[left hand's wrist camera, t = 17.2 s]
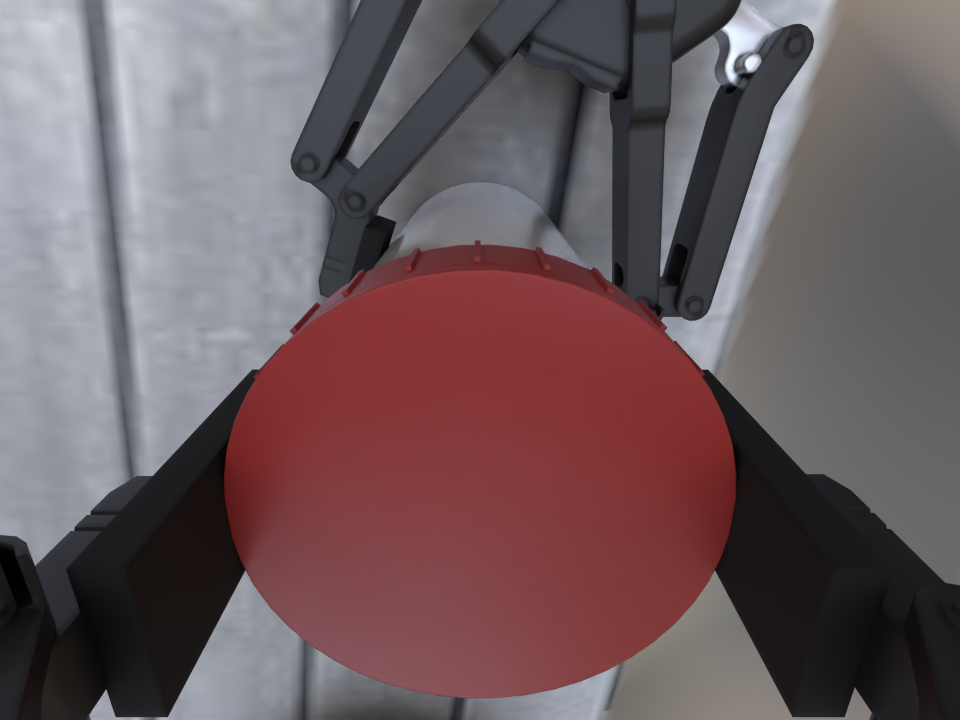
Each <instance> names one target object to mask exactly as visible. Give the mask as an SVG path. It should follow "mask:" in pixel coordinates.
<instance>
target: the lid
mask: <svg viewBox="0 0 960 720" xmlns="http://www.w3.org/2000/svg"><path fill="white" fill-rule="evenodd" d="M666 329H667V327H666V326H665V325H664V324H663V323H662V322H661V320H660V319H659V318H658V317H657V316H656V315H655V314H654V313H653V312H652V311H651V310H650V309H649V308H648V306H647V305H646V304H645V303H644V302H643V301H642V300H640V301H639V302H636V301H635V300H634V299H632V298H631V297H630V296H628V295H627V294H626V293H625V292H623V291H622V290H621V289H619V288H618V287H617V286H616V285H614V284H613V283H611V282H609V281H608V280H606V279H605V278H604V277H603V275H602V274H601V273H600V272H599V270H598V269H596V268H594V267H593V268H592V270H591V271H590V270H589V269H587V268H584V267H582V266H579V265H577V264H575V263H572V262H570V261H567V260H565V259H562V258H560V257H557V256H553V255H549V254H546V253H544V251H543V249H542V248H540V247H536V250H535V251H534V250H530V249H526V248H518V247H509V246H501V245H481V240H475V245H457V246H450V247H443V248H436V249H430V250H425V251H422V252H421V251H420V248H416V249H414V250H413V252H412V254H411V255H408V256H404V257H401V258H397V259H395V260H393V261H390V262H388V263H386V264H383V265H381V266H379V267H377V268H374V269H372V270H370V271H368V272H365V271H364V269H362V270H361V271H359V272H358V273H357V274H356V275H355V277H354V278H353V279H352V280H351V281H350V283H348V284H346V285H345V286H343V287H342V288H340V289H339V290H338V291H337V292H335V293H334V294H333V295H332V296H331V297H329V298H328V299H327V300H326V301H325V302H323V303H322V304H321V305H319V304H318V303H315V304H314V305H313V306H312V308H311V309H310V310H309V311H308V312H307V313H306V314H305V315H304V316H303V317H302V318H301V319H300V320H299V321H298V323H297V324H296V325H295V326H294V327H293V328H292V329H291V330H290V332H291V333H292V334H293V335H292V337H291V338H290V339H289V340H288V341H287V342H286V343H285V344H282V346H281V347H280V348H279V349H278V350H277V351H276V352H275V353H274V354H273V355H272V357H271V358H270V359H269V360H268V361H267V362H266V363H265V364H264V365H263V366H262V368H261V369H260V370H259V371H258V372H257V373H256V374H255V376H254V379H255V382H254V383H253V385H252V386H251V388H250V390H249V391H248V393H247V394H246V397H245V399H244V401H243V403H242V405H241V408H240V410H239V412H238V414H237V417H236V419H235V421H234V424H233V428H232V432H231V436H230V439H229V443H228V447H227V451H226V460H225V470H224V496H225V503H226V509H227V514H228V519H229V524H230V529H231V534H232V538H233V542H234V545H235V547H236V550H237V553H238V555H239V558H240V560H241V563H242V564H243V566H244V568H245V570H246V572H247V573H248V575H249V577H250V579H251V581H252V583H253V584H254V586H255V587H256V589H257V590H258V591H259V593H260V594H261V595H262V597H263V598H264V600H265V601H266V602H267V604H268V605H269V606H270V608H271V609H272V610H273V611H274V612H275V613H276V614H277V615H278V616H279V617H280V618H281V619H282V620H283V621H284V622H285V623H286V624H287V625H288V626H289V627H290V628H291V629H292V630H293V631H294V632H296V633H297V634H298V635H299V636H300V637H302V638H303V639H304V640H305V641H306V642H308V643H309V644H310V645H311V646H313V647H315V648H316V649H318V650H319V651H321V652H322V653H324V654H325V655H327V656H328V657H330V658H331V659H333V660H335V661H336V662H338V663H340V664H342V665H344V666H346V667H348V668H350V669H352V670H354V671H356V672H358V673H360V674H363V675H365V676H368V677H371V678H373V679H376V680H378V681H381V682H383V683H386V684H390V685H393V686H397V687H401V688H404V689H408V690H411V691H416V692H422V693H427V694H433V695H438V696H448V697H460V698H502V697H512V696H522V695H529V694H534V693H539V692H544V691H549V690H554V689H557V688H560V687H564V686H567V685H570V684H574V683H577V682H580V681H583V680H585V679H588V678H590V677H592V676H595V675H597V674H600V673H602V672H605V671H607V670H609V669H611V668H612V667H614V666H616V665H618V664H620V663H622V662H624V661H626V660H627V659H629V658H631V657H633V656H634V655H635V654H637V653H638V652H640V651H641V650H643V649H644V648H646V647H647V646H649V645H650V644H651V643H653V642H654V641H656V640H657V639H658V638H659V637H660V636H661V635H662V634H664V633H665V632H666V631H667V630H668V629H669V628H671V627H672V626H673V625H674V624H675V623H676V622H677V621H678V620H679V619H680V618H681V616H682V615H683V614H684V613H685V612H686V611H687V610H688V609H689V608H690V607H691V605H692V604H693V603H694V602H695V600H696V599H697V598H698V596H699V595H700V593H701V592H702V590H703V589H704V588H705V586H706V585H707V583H708V582H709V580H710V578H711V576H712V574H713V572H714V571H715V569H716V567H717V565H718V563H719V561H720V559H721V557H722V554H723V551H724V548H725V546H726V543H727V540H728V536H729V531H730V526H731V521H732V516H733V511H734V506H735V500H736V466H735V459H734V451H733V444H732V441H731V438H730V434H729V431H728V428H727V425H726V421H725V418H724V415H723V413H722V411H721V409H720V407H719V405H718V403H717V401H716V399H715V397H714V395H713V393H712V391H711V389H710V387H709V386H708V384H707V383H706V381H705V380H704V378H703V377H702V376H703V375H705V374H704V372H703V371H702V369H701V368H700V367H699V366H698V365H697V364H696V363H695V362H694V361H693V360H692V358H691V357H690V356H689V355H688V354H687V353H686V352H685V351H684V350H683V349H682V347H681V346H680V345H679V344H678V343H677V342H676V341H673V340H672V339H671V338H670V337H669V336H668V335H667V334H666V332H665V330H666Z"/></svg>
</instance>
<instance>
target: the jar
mask: <svg viewBox="0 0 960 720" xmlns="http://www.w3.org/2000/svg"><path fill="white" fill-rule="evenodd" d="M475 240H481V245H501V246H509V247H518V248H526V249H530V250H534V251H535V250H536V247H540V248H542V249H543V251H544V253H546V254H549V255H553V256H557V257H560V258H562V259H565V260H567V261H570V262H572V263H575V264H577V265H579V266H582V267H584V268H587V267H586V266H585V265H584V263H583V262H582V261H581V259H580V258H579V257H578V255H577V254H576V253H575V251H574V250H573V249H572V247H571V246H570V245H569V243H568V242H567V241H566V239H565V238H564V237H563V235H562V234H561V233H560V231H559V230H558V229H557V227H556V226H555V225H554V223H553V222H552V221H551V219H550V218H549V217H548V216H547V214H546V213H545V212H544V211H543V209H542V208H541V207H540V206H539V205H537V204H536V203H535V202H534V201H533V200H532V199H530V198H529V197H528V196H526V195H525V194H523V193H521V192H519V191H517V190H515V189H513V188H510V187H507V186H505V185H501V184H496V183H490V182H469V183H464V184H459V185H456V186H453V187H450V188H447V189H445V190H443V191H441V192H439V193H437V194H436V195H434V196H433V197H431V198H430V199H428V200H427V201H426V202H425V203H424V204H423V205H422V206H421V207H419V209H418V210H417V211H416V212H415V213H414V215H413V216H412V217H411V218H410V220H409V221H408V222H407V224H406V225H405V226H404V228H403V229H402V230H401V232H400V233H399V234H398V236H397V237H396V238H395V240H394V241H393V242H392V244H391V245H390V246H389V248H388V249H387V250H386V251H385V253H384V254H383V255H382V257H381V258H380V259H379V261H378V262H377V263H376V265H375V266H374V267H373V269H374V268H377V267H379V266H381V265H383V264H386V263H388V262H390V261H393V260H395V259H397V258H401V257H404V256H408V255H411V254H412V252H413V250H414V249H416V248H420V251H421V252H422V251H425V250H430V249H436V248H443V247H450V246H457V245H475Z"/></svg>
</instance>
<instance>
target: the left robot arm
mask: <svg viewBox="0 0 960 720" xmlns="http://www.w3.org/2000/svg"><path fill="white" fill-rule="evenodd" d="M258 371H259V370H252V371H251V372H250V373H249V374H248V375H247V376H246V377H245V378H244V379H243V380H242V381H241V382H240V383H239V384H238V386H237V387H236V388H235V389H234V390H233V391H232V392H231V393H230V394H229V395H228V396H227V397H226V398H225V399H224V401H223V402H222V403H221V404H220V405H219V406H218V407H217V408H216V409H215V410H214V411H213V412H212V413H211V414H210V415H209V417H208V418H207V419H206V420H205V421H204V422H203V423H202V424H201V425H200V426H199V427H198V428H197V429H196V430H195V432H194V433H193V434H192V435H191V436H190V437H189V438H188V439H187V440H186V441H185V442H184V443H183V444H182V445H181V446H180V448H179V449H178V450H177V451H176V452H175V453H174V454H173V455H172V456H171V457H170V458H169V459H168V460H167V461H166V463H165V464H164V465H163V466H162V467H161V468H160V469H159V470H158V471H157V472H156V473H155V474H154V475H153V476H137V477H135V478H133V479H132V480H130V481H128V482H127V483H125V484H123V485H121V486H120V487H118V488H116V489H115V490H113V491H111V492H110V493H109V494H108V495H107V496H106V497H105V498H104V499H103V500H102V501H101V502H100V503H99V504H98V505H97V506H96V507H95V508H94V509H93V510H92V511H91V514H90V515H86V516H85V517H84V518H83V519H82V520H81V521H80V522H79V523H78V524H77V525H76V526H75V530H74V531H70V532H69V533H68V534H67V535H66V536H65V537H64V538H63V539H62V540H61V541H60V542H59V543H58V544H57V545H56V546H55V547H54V548H53V549H52V550H51V551H50V552H49V553H48V554H47V555H46V556H45V557H44V558H43V559H42V560H41V561H40V562H39V563H38V564H37V565H36V566H35V565H34V562H33V560H32V557H31V554H30V551H29V549H28V546H27V543H26V542H24V541H23V540H21V539H19V538H18V537H16V536H4V535H0V720H91V719H90V717H89V714H90V713H91V711H92V710H93V708H94V707H95V705H96V704H97V702H98V701H99V699H100V698H101V696H102V695H103V693H104V692H105V690H106V689H107V692H108V695H109V698H110V701H111V704H112V707H113V710H114V713H115V716H116V717H168V716H169V714H170V712H171V710H172V708H173V706H174V704H175V702H176V700H177V699H178V697H179V695H180V693H181V691H182V689H183V687H184V685H185V683H186V681H187V680H188V678H189V676H190V674H191V672H192V670H193V668H194V666H195V664H196V663H197V661H198V659H199V657H200V655H201V653H202V651H203V649H204V647H205V646H206V644H207V642H208V640H209V638H210V636H211V634H212V632H213V630H214V628H215V627H216V625H217V623H218V621H219V619H220V617H221V615H222V613H223V611H224V610H225V608H226V606H227V604H228V602H229V600H230V598H231V596H232V594H233V593H234V591H235V589H236V587H237V585H238V583H239V581H240V579H241V577H242V576H243V574H244V572H245V568H244V566H243V564H242V563H241V560H240V558H239V555H238V553H237V550H236V547H235V545H234V542H233V538H232V534H231V529H230V524H229V519H228V514H227V509H226V503H225V496H224V470H225V460H226V451H227V447H228V443H229V439H230V436H231V432H232V428H233V424H234V421H235V419H236V417H237V414H238V412H239V410H240V408H241V405H242V403H243V401H244V399H245V397H246V394H247V393H248V391H249V390H250V388H251V386H252V385H253V383H254V382H255V379H254V376H255V374H256V373H257V372H258ZM702 371H703V372H704V374H705V375H703V376H702V377H703V378H704V380H705V381H706V383H707V384H708V386H709V387H710V389H711V391H712V393H713V395H714V397H715V399H716V401H717V403H718V405H719V407H720V409H721V411H722V413H723V415H724V418H725V421H726V425H727V428H728V431H729V434H730V438H731V441H732V444H733V451H734V459H735V466H736V500H735V506H734V511H733V516H732V521H731V526H730V531H729V536H728V540H727V543H726V546H725V548H724V551H723V554H722V557H721V559H720V561H719V563H718V565H717V567H716V569H715V571H716V573H717V575H718V577H719V579H720V580H721V582H722V584H723V586H724V588H725V590H726V592H727V594H728V596H729V597H730V599H731V601H732V603H733V605H734V607H735V609H736V611H737V613H738V615H739V616H740V618H741V620H742V622H743V624H744V626H745V628H746V630H747V632H748V633H749V635H750V637H751V639H752V641H753V643H754V645H755V647H756V649H757V651H758V652H759V654H760V656H761V658H762V660H763V662H764V664H765V666H766V668H767V669H768V671H769V673H770V675H771V677H772V679H773V681H774V683H775V685H776V686H777V688H778V690H779V692H780V694H781V696H782V698H783V700H784V702H785V704H786V705H787V707H788V709H789V711H790V713H791V715H792V717H845V714H846V711H847V708H848V705H849V703H850V700H851V697H852V694H853V691H854V688H856V689H857V691H858V692H859V694H860V695H861V697H862V698H863V700H864V701H865V703H866V704H867V706H868V707H869V709H870V710H871V712H872V714H871V717H870V720H960V585H954V584H948V583H945V582H944V581H943V580H942V579H941V578H940V577H939V576H938V575H937V574H936V573H935V572H934V571H933V570H932V569H931V568H930V567H928V566H927V565H926V564H925V563H924V562H923V561H922V560H921V559H920V558H919V557H918V556H917V555H916V554H915V553H914V552H913V551H912V550H911V549H910V548H909V547H908V546H907V545H906V544H905V543H904V542H903V541H902V540H901V539H900V538H899V537H898V536H897V535H896V534H895V533H894V532H893V531H892V530H891V529H887V528H886V524H885V523H884V522H883V521H882V520H881V519H880V518H879V517H878V516H877V515H876V514H875V513H871V512H870V509H869V508H868V507H867V506H866V505H865V504H864V503H863V502H862V501H861V500H860V499H859V498H858V497H857V496H856V495H855V494H854V493H853V492H852V491H851V490H849V489H848V488H846V487H844V486H843V485H841V484H839V483H838V482H836V481H834V480H832V479H831V478H829V477H827V476H826V475H824V474H805V473H804V472H803V471H802V470H801V469H800V467H799V466H798V465H797V464H796V463H795V462H794V461H793V460H792V459H791V458H790V457H789V456H788V455H787V454H786V453H785V451H784V450H783V449H782V448H781V447H780V446H779V445H778V444H777V443H776V442H775V441H774V440H773V439H772V438H771V436H770V435H769V434H768V433H767V432H766V431H765V430H764V429H763V428H762V427H761V426H760V425H759V424H758V423H757V421H756V420H755V419H754V418H753V417H752V416H751V415H750V414H749V413H748V412H747V411H746V410H745V409H744V408H743V406H742V405H741V404H740V403H739V402H738V401H737V400H736V399H735V398H734V397H733V396H732V395H731V394H730V393H729V392H728V390H727V389H726V388H725V387H724V386H723V385H722V384H721V383H720V382H719V381H718V380H717V379H716V378H715V377H714V375H713V374H712V373H711V372H710V371H709V370H702Z"/></svg>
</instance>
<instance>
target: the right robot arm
mask: <svg viewBox="0 0 960 720" xmlns="http://www.w3.org/2000/svg"><path fill="white" fill-rule="evenodd" d="M421 1H422V0H361V1H360V4H359V6H358V8H357V10H356V13H355V15H354V17H353V19H352V21H351V24H350V26H349V28H348V30H347V33H346V35H345V37H344V39H343V42H342V44H341V46H340V48H339V51H338V53H337V55H336V57H335V59H334V62H333V64H332V66H331V68H330V71H329V73H328V75H327V77H326V80H325V82H324V84H323V86H322V88H321V91H320V93H319V95H318V97H317V100H316V102H315V104H314V106H313V109H312V111H311V113H310V115H309V118H308V120H307V122H306V124H305V126H304V129H303V131H302V133H301V135H300V138H299V140H298V142H297V144H296V147H295V149H294V151H293V153H292V157H291V167H292V170H293V171H294V173H295V175H296V176H297V177H298V178H300V179H301V180H303V181H306V182H310V183H311V184H312V185H314V186H315V187H316V188H317V189H319V190H320V191H321V192H322V193H324V194H325V195H326V196H327V197H328V198H329V199H330V201H331V202H332V204H333V207H334V209H335V220H334V224H333V228H332V232H331V235H330V239H329V243H328V247H327V250H326V255H325V258H324V262H323V266H322V269H321V273H320V277H319V288H320V295H323V296H326V297H331V296H332V295H333V294H334V293H335V292H337V291H338V290H339V289H340V288H342V287H343V286H345V285H346V284H348V283H350V281H351V280H352V279H353V278H354V277H355V275H356V274H357V273H358V272H359V271H361V270H362V269H364V271H365V272H368V271H370V270H372V269H373V267H374V266H375V265H376V263H377V262H378V261H379V259H380V258H381V257H382V255H383V254H384V253H385V251H386V250H387V249H388V247H389V244H390V241H391V238H392V234H393V231H394V228H395V224H396V222H395V221H392V220H389V219H387V218H384V217H381V216H377V213H378V209H379V206H380V205H381V204H382V203H383V201H384V200H385V199H386V198H387V197H388V196H389V195H390V194H391V192H392V191H393V190H394V189H395V188H396V187H397V186H398V185H399V183H400V182H401V181H402V180H403V179H404V178H405V177H406V176H407V175H408V173H409V172H410V171H411V170H412V169H413V168H414V167H415V166H416V164H417V163H418V162H419V161H420V160H421V159H422V158H423V157H424V156H425V154H426V153H427V152H428V151H429V150H430V149H431V148H432V147H433V145H434V144H435V143H436V142H437V141H438V140H439V139H440V138H441V137H442V135H443V134H444V133H445V132H446V131H447V130H448V129H449V128H450V126H451V125H452V124H453V123H454V122H455V121H456V120H457V119H458V118H459V116H460V115H461V114H462V113H463V112H464V111H465V110H466V109H467V107H468V106H469V105H470V104H471V103H472V102H473V101H474V100H475V99H476V97H477V96H478V95H479V94H480V93H481V92H482V91H483V90H484V88H485V87H486V86H487V85H488V84H489V83H490V82H491V81H492V80H493V78H494V77H495V76H496V75H497V74H498V73H499V72H500V71H501V70H502V69H503V68H504V67H505V66H506V65H507V63H508V62H509V61H510V60H511V59H512V58H513V57H514V56H515V55H516V53H517V52H519V53H520V54H521V55H523V56H524V60H525V61H527V62H530V63H532V64H535V65H537V66H539V67H542V68H547V69H557V70H566V71H568V72H569V73H570V74H572V75H573V76H574V77H575V78H577V79H578V80H579V81H580V82H582V83H583V84H584V85H586V86H588V87H591V88H593V89H595V90H598V91H600V92H603V93H607V92H610V119H611V123H612V128H613V182H612V283H613V284H614V285H616V286H617V287H618V288H619V289H621V290H622V291H623V292H625V293H626V294H627V295H628V296H630V297H631V298H632V299H634V300H635V301H636V302H639V301H640V300H642V301H643V302H644V303H645V304H646V305H647V306H648V308H649V309H650V310H651V311H652V312H653V313H654V314H655V315H656V316H657V317H658V318H659V319H660V320H661V319H662V318H663V317H683V318H684V319H686V320H689V321H693V320H698V319H700V318H702V317H703V316H705V315H706V314H707V312H708V310H709V309H710V306H711V303H712V300H713V297H714V294H715V291H716V287H717V284H718V281H719V278H720V275H721V272H722V269H723V266H724V262H725V259H726V256H727V253H728V250H729V247H730V244H731V241H732V237H733V234H734V231H735V228H736V225H737V222H738V219H739V216H740V213H741V209H742V206H743V203H744V200H745V197H746V194H747V191H748V188H749V184H750V181H751V178H752V175H753V172H754V169H755V166H756V163H757V159H758V156H759V153H760V150H761V147H762V144H763V141H764V138H765V134H766V131H767V128H768V125H769V122H770V119H771V116H772V113H773V110H774V107H775V105H776V104H777V102H778V101H779V99H780V98H781V96H782V95H783V93H784V92H785V91H786V89H787V88H788V86H789V85H790V83H791V82H792V80H793V79H794V77H795V76H796V74H797V73H798V72H799V70H800V69H801V67H802V66H803V64H804V63H805V61H806V60H807V58H808V57H809V55H810V53H811V51H812V49H813V42H814V39H813V35H812V32H811V31H810V29H809V28H808V27H807V26H805V25H802V24H793V25H790V26H787V27H780V26H779V25H777V24H776V23H774V22H773V21H772V20H770V19H769V18H767V17H766V16H764V15H763V14H762V13H760V12H759V11H757V10H756V9H755V8H753V7H752V6H750V5H749V4H748V3H746V2H745V1H743V0H500V3H499V4H498V6H497V7H496V8H495V9H494V10H493V11H492V13H491V14H490V15H489V16H488V17H487V18H486V20H485V21H484V22H483V23H482V24H481V25H480V27H479V28H478V29H477V30H476V31H475V33H474V34H473V36H472V37H471V39H470V40H469V41H468V43H467V44H466V45H465V46H464V48H463V49H462V50H461V51H460V52H459V53H458V55H457V56H456V57H455V58H454V59H453V60H452V62H451V63H450V64H449V65H448V66H447V67H446V69H445V70H444V71H443V72H442V73H441V74H440V75H439V77H438V78H437V79H436V80H435V81H434V82H433V84H432V85H431V86H430V87H429V88H428V89H427V91H426V92H425V93H424V94H423V95H422V96H421V98H420V99H419V100H418V101H417V102H416V103H415V105H414V106H413V107H412V108H411V109H410V110H409V111H408V113H407V114H406V115H405V116H404V117H403V118H402V120H401V121H400V122H399V123H398V124H397V125H396V127H395V128H394V129H393V130H392V131H391V132H390V134H389V135H388V136H387V137H386V138H385V139H384V140H383V142H382V143H381V144H380V145H379V146H378V147H377V149H376V150H375V151H374V152H373V153H372V154H371V156H370V157H369V158H368V159H367V160H366V161H365V163H364V164H363V165H362V166H361V167H360V168H359V169H358V168H357V167H356V166H354V165H353V164H352V163H351V162H350V161H348V160H347V159H346V157H347V155H348V153H349V151H350V149H351V147H352V145H353V142H354V140H355V138H356V136H357V134H358V132H359V130H360V128H361V126H362V124H363V122H364V120H365V118H366V115H367V113H368V111H369V109H370V107H371V105H372V103H373V101H374V99H375V97H376V95H377V93H378V91H379V88H380V86H381V84H382V82H383V80H384V78H385V76H386V74H387V72H388V70H389V68H390V66H391V64H392V62H393V59H394V57H395V55H396V53H397V51H398V49H399V47H400V45H401V43H402V41H403V39H404V37H405V35H406V32H407V30H408V28H409V26H410V24H411V22H412V20H413V18H414V16H415V14H416V12H417V10H418V8H419V5H420V3H421ZM712 35H713V36H714V37H715V38H716V39H717V41H718V43H719V48H720V50H719V57H718V59H717V62H716V65H715V77H716V79H717V81H718V82H719V83H720V84H721V86H720V88H719V89H718V91H717V94H716V96H715V98H714V100H713V102H712V105H711V108H710V111H709V114H708V117H707V120H706V123H705V127H704V130H703V134H702V138H701V141H700V145H699V148H698V152H697V155H696V159H695V162H694V166H693V169H692V173H691V176H690V180H689V184H688V187H687V191H686V194H685V198H684V201H683V205H682V208H681V212H680V215H679V219H678V223H677V226H676V230H675V233H674V237H673V240H672V244H671V247H670V251H669V254H668V258H667V261H666V265H665V269H664V272H663V276H662V277H660V257H661V228H662V200H663V171H664V142H665V124H666V121H667V118H668V116H669V112H670V104H671V78H672V63H673V62H675V61H676V60H678V59H679V58H680V57H682V56H683V55H685V54H686V53H688V52H689V51H690V50H692V49H693V48H695V47H696V46H698V45H699V44H700V43H702V42H703V41H705V40H706V39H708V38H709V37H710V36H712Z"/></svg>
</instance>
